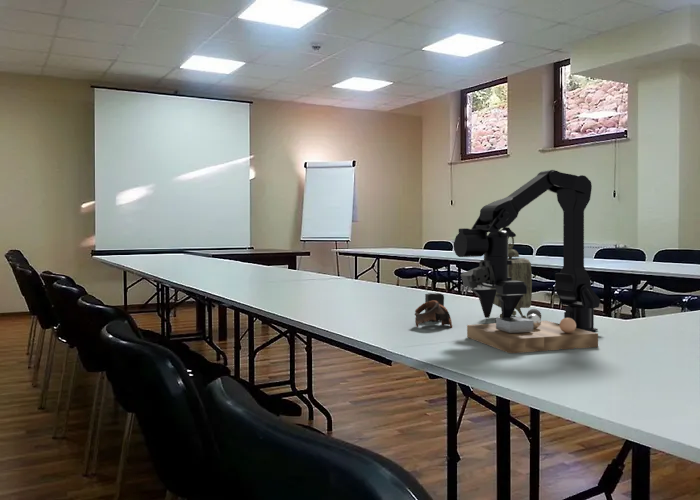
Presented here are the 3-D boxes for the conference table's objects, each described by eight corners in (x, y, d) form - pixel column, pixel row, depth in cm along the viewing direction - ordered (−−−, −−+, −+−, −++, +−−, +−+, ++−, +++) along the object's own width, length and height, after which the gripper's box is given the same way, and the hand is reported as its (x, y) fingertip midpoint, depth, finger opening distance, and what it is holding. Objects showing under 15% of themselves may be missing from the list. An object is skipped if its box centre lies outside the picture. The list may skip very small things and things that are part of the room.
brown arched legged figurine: (457, 331, 156) (443, 306, 154) (424, 346, 157) (410, 321, 156) (452, 313, 167) (439, 289, 165) (422, 327, 169) (409, 304, 167)
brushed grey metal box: (519, 327, 139) (518, 316, 139) (533, 331, 133) (533, 320, 133) (496, 328, 137) (496, 318, 137) (509, 333, 131) (509, 321, 131)
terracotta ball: (569, 331, 134) (569, 316, 134) (579, 334, 131) (579, 318, 131) (556, 332, 133) (556, 316, 133) (565, 334, 130) (565, 319, 130)
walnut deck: (545, 332, 151) (545, 320, 150) (598, 346, 131) (598, 333, 131) (467, 337, 145) (467, 324, 145) (509, 353, 126) (509, 339, 125)
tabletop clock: (531, 322, 166) (531, 233, 165) (499, 322, 166) (499, 234, 166) (517, 315, 181) (517, 233, 180) (488, 315, 181) (488, 233, 180)
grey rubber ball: (536, 321, 149) (536, 307, 149) (544, 323, 146) (544, 309, 145) (523, 322, 148) (523, 308, 148) (531, 324, 145) (531, 310, 144)
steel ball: (535, 327, 140) (535, 312, 140) (544, 329, 137) (544, 314, 137) (522, 328, 139) (522, 313, 139) (530, 330, 136) (530, 315, 136)
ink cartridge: (440, 319, 173) (441, 292, 173) (443, 321, 171) (444, 293, 171) (424, 320, 172) (425, 293, 172) (427, 321, 170) (428, 293, 170)
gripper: (448, 255, 149) (449, 316, 150) (484, 258, 131) (484, 328, 132) (488, 254, 152) (488, 314, 153) (528, 257, 134) (528, 325, 135)
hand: (496, 320), depth 143 cm, fingers open, 9 cm apart
